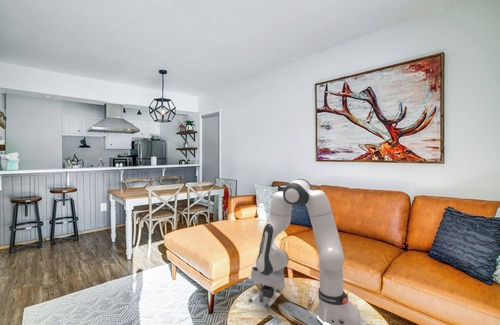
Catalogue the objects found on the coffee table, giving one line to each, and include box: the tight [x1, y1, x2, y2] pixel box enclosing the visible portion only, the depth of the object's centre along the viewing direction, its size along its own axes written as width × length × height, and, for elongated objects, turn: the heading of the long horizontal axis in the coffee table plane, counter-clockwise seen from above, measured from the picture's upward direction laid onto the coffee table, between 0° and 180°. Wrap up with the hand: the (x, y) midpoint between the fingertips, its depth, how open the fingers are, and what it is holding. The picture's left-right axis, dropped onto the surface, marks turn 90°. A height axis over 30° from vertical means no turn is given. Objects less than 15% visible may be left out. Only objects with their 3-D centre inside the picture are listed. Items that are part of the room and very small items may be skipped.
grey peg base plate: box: [247, 290, 282, 310], centre depth 140 cm, size 12×16×6 cm
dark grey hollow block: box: [261, 285, 274, 299], centre depth 143 cm, size 6×6×4 cm
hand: (267, 292), depth 143 cm, fingers closed on dark grey hollow block, 6 cm apart
